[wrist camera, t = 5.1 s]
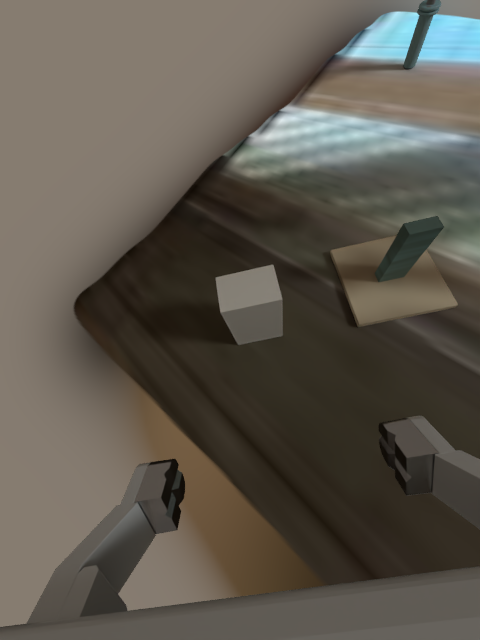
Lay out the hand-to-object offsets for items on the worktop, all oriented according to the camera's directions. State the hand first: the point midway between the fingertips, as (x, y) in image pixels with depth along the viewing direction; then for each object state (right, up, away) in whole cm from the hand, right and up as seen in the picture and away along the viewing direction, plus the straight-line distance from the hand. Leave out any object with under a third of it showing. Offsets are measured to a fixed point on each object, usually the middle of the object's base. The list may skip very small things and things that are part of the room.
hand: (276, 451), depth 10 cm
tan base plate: (+14, +10, +16) cm, 23 cm away
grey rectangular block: (0, +5, +16) cm, 17 cm away
